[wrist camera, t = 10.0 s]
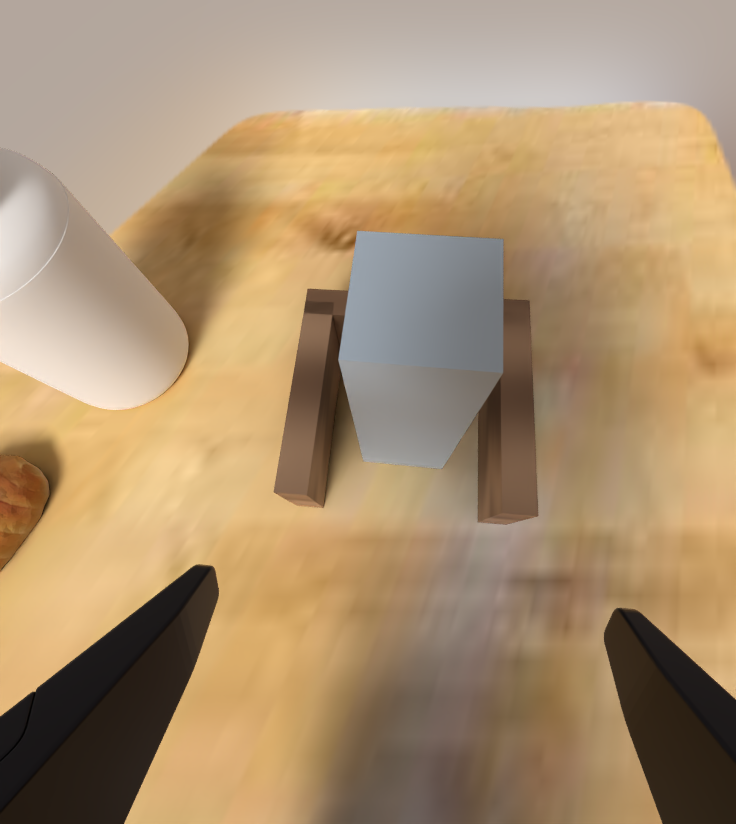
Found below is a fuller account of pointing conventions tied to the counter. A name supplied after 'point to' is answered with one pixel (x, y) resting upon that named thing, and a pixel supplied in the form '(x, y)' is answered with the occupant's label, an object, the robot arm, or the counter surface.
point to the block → (420, 342)
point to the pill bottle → (78, 298)
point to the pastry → (19, 502)
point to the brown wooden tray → (497, 419)
